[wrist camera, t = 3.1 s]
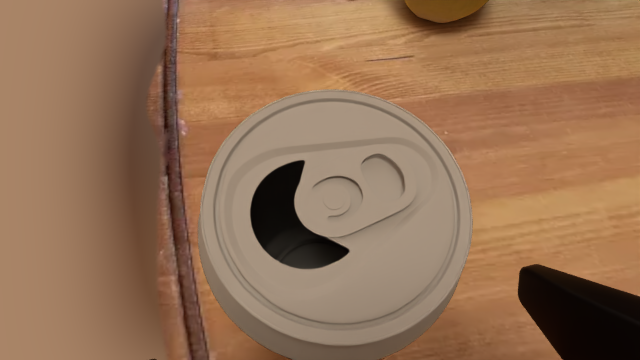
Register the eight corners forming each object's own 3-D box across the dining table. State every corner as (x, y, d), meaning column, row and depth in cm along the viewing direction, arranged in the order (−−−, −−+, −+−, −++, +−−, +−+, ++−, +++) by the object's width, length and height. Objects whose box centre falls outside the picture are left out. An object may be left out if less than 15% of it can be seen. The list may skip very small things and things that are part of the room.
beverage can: (236, 254, 19) (141, 126, 8) (345, 207, 20) (395, 43, 9) (282, 379, 16) (241, 450, 5) (402, 317, 18) (561, 272, 7)
